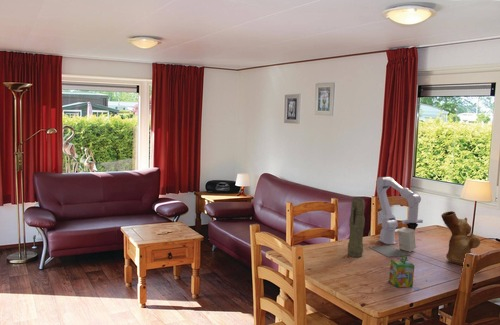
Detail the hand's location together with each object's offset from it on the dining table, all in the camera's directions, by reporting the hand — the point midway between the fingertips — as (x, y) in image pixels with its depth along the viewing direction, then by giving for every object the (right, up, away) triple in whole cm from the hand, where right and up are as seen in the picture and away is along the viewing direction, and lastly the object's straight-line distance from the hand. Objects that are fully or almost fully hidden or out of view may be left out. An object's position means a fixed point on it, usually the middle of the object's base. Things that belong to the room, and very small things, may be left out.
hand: (411, 234), depth 292 cm
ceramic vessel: (+19, -13, -21) cm, 32 cm away
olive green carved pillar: (-39, -10, -15) cm, 43 cm away
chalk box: (-26, -16, -60) cm, 67 cm away
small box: (-2, -9, 0) cm, 10 cm away
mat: (-15, -10, -4) cm, 19 cm away
